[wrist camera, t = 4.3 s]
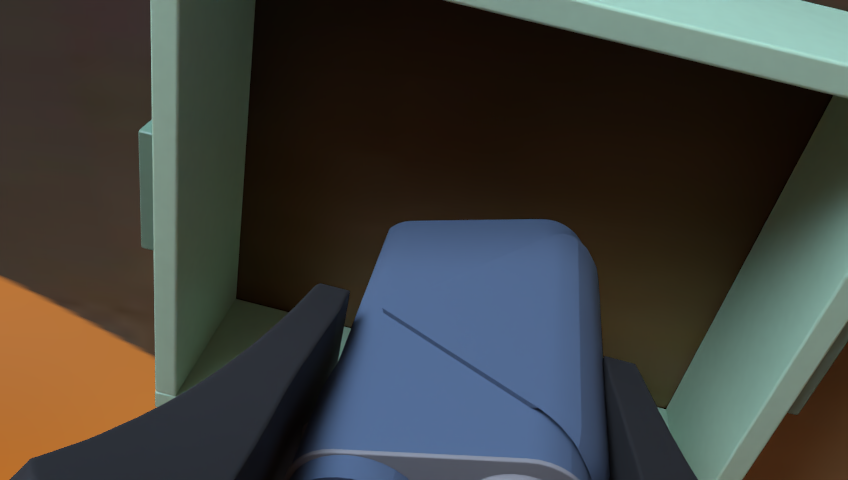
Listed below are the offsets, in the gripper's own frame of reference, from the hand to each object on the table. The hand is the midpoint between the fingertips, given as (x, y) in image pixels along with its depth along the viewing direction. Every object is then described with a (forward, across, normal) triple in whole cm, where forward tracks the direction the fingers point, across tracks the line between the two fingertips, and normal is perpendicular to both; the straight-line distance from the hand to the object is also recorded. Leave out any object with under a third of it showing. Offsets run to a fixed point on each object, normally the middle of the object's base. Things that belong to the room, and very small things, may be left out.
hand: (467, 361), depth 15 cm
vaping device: (+4, 0, 0) cm, 4 cm away
